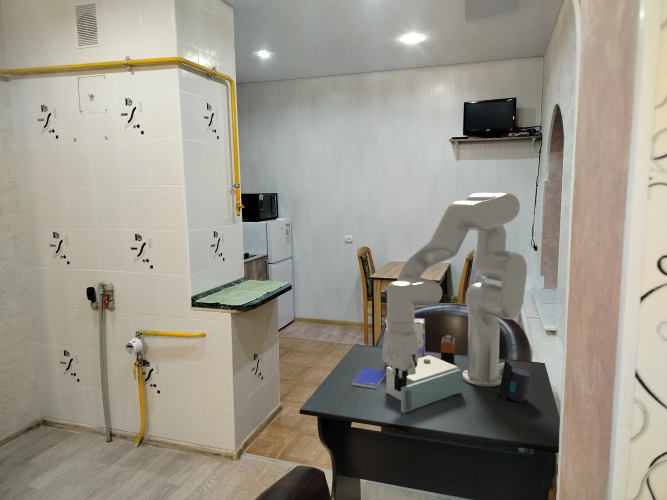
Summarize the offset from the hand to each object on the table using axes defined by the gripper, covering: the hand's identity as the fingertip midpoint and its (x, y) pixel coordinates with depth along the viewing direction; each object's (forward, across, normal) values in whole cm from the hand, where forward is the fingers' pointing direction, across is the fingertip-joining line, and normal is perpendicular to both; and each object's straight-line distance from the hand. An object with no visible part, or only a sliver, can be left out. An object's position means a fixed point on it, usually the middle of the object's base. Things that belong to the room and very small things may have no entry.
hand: (400, 389), depth 127 cm
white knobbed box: (+6, -4, +12) cm, 14 cm away
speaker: (+6, +15, +32) cm, 36 cm away
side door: (+5, +4, +10) cm, 12 cm away
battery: (+6, -14, +36) cm, 39 cm away
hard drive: (+6, -21, +6) cm, 23 cm away
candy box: (+6, -23, +24) cm, 34 cm away
